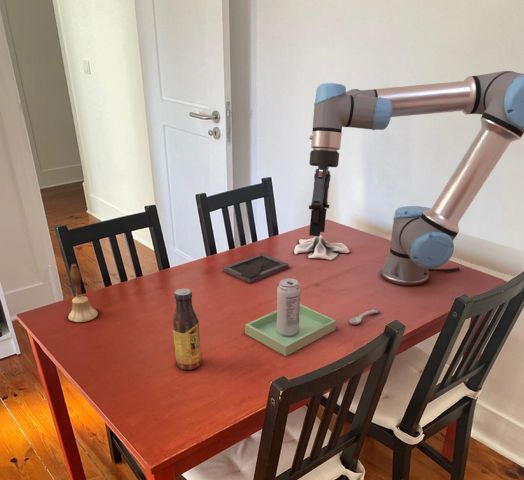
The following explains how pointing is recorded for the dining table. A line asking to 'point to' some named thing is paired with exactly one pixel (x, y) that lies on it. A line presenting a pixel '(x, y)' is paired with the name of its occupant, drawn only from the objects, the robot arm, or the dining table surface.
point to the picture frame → (255, 268)
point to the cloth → (320, 248)
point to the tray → (309, 331)
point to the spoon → (358, 319)
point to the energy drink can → (288, 307)
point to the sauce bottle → (186, 331)
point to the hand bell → (80, 301)
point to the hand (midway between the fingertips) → (317, 233)
